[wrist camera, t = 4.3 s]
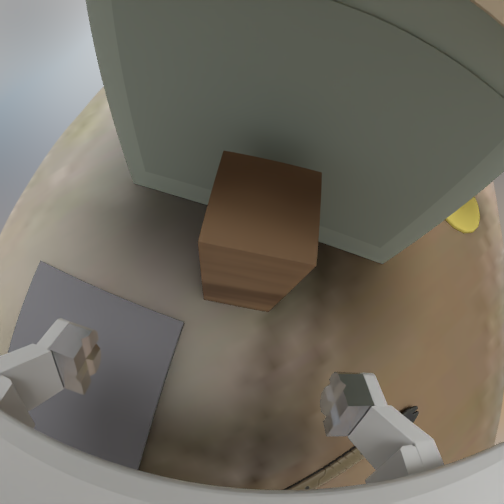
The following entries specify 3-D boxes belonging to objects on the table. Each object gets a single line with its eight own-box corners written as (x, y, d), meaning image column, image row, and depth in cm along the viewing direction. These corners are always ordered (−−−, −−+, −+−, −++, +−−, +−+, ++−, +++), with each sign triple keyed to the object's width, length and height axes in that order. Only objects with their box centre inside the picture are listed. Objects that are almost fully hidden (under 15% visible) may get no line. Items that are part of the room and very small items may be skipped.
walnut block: (268, 311, 22) (316, 265, 12) (204, 299, 22) (197, 241, 12) (276, 252, 24) (322, 172, 14) (217, 240, 24) (223, 150, 14)
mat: (135, 481, 16) (133, 483, 15) (1, 401, 15) (-3, 401, 15) (184, 322, 21) (183, 321, 20) (43, 262, 21) (40, 260, 20)
